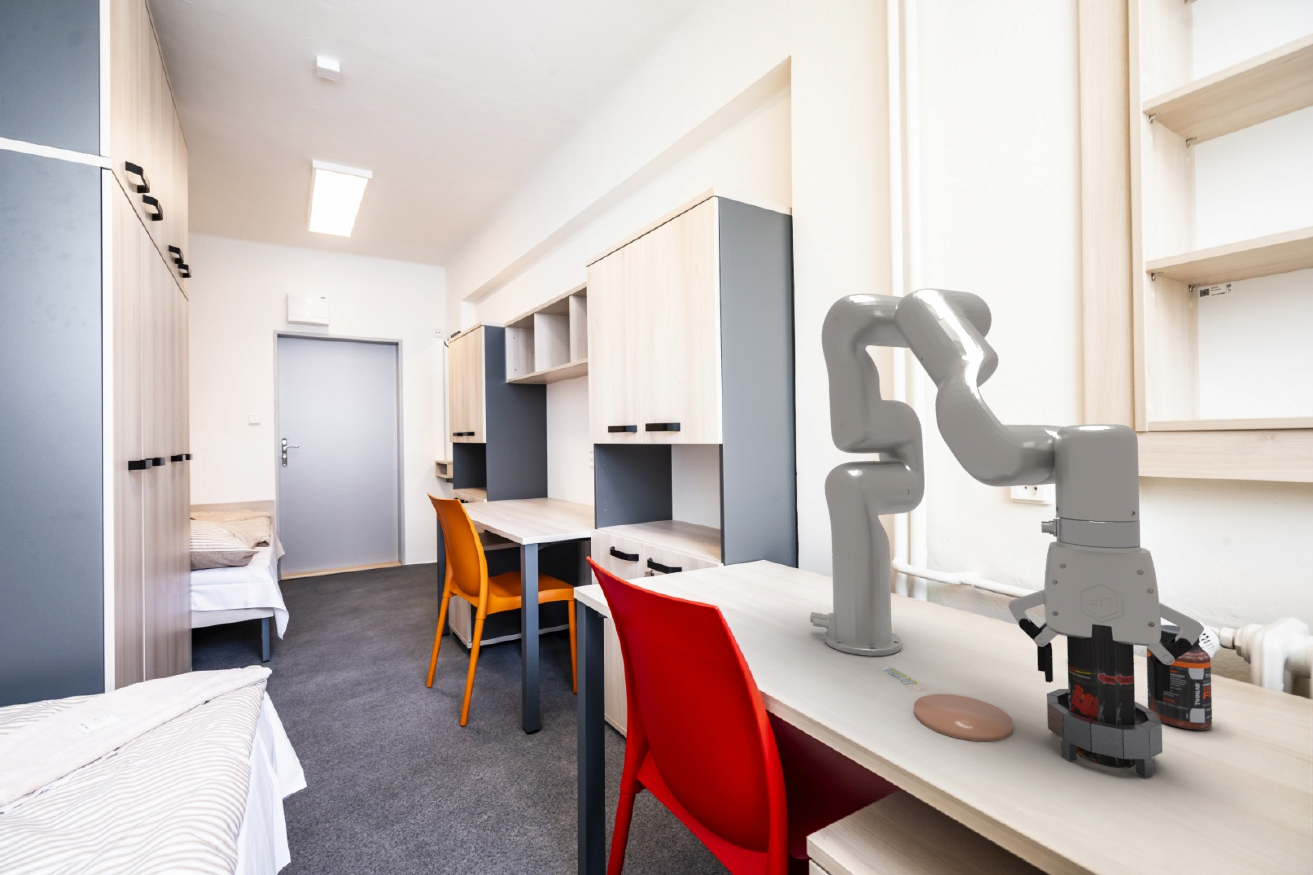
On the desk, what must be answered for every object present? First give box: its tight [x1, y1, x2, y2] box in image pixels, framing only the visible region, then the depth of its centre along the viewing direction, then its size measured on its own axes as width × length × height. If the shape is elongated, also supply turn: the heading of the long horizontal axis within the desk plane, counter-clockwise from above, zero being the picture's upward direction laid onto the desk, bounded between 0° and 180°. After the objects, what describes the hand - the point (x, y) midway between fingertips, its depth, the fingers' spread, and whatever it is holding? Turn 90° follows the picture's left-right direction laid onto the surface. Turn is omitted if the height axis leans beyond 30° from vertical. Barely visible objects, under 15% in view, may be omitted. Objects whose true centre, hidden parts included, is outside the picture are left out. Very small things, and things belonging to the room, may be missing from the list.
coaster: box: [913, 693, 1014, 743], centre depth 73 cm, size 11×11×1 cm
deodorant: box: [1066, 624, 1136, 768], centre depth 65 cm, size 6×6×15 cm
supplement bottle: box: [1146, 624, 1213, 731], centre depth 72 cm, size 6×6×11 cm
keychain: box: [883, 664, 929, 693], centre depth 86 cm, size 10×1×3 cm
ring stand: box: [1046, 688, 1163, 779], centre depth 65 cm, size 10×10×5 cm
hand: (1100, 686), depth 65 cm, fingers open, 9 cm apart
